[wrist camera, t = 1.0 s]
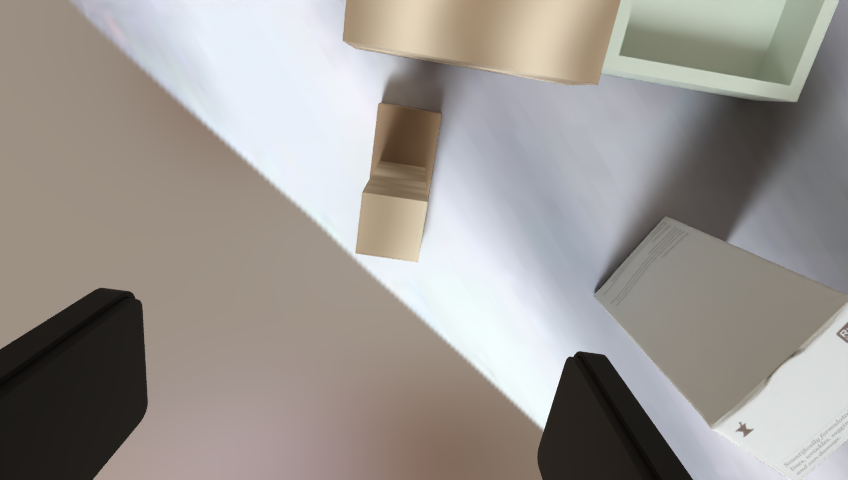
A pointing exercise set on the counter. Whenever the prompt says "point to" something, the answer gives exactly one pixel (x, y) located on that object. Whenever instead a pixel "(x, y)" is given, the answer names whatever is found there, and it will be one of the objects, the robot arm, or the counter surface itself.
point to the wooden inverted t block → (398, 182)
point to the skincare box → (740, 342)
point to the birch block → (490, 34)
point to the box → (720, 45)
